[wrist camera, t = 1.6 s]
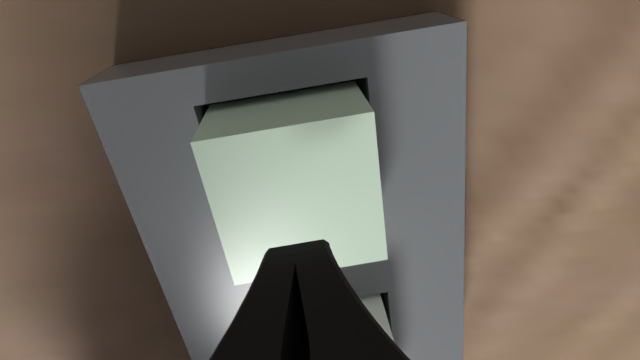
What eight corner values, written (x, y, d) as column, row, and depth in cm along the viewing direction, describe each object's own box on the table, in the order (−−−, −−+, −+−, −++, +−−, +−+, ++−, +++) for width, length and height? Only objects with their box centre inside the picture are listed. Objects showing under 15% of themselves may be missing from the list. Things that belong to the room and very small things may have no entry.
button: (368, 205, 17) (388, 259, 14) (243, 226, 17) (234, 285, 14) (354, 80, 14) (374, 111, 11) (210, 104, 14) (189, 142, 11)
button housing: (442, 338, 23) (462, 386, 21) (226, 375, 23) (219, 428, 21) (435, 11, 16) (467, 21, 13) (112, 65, 16) (78, 85, 13)
